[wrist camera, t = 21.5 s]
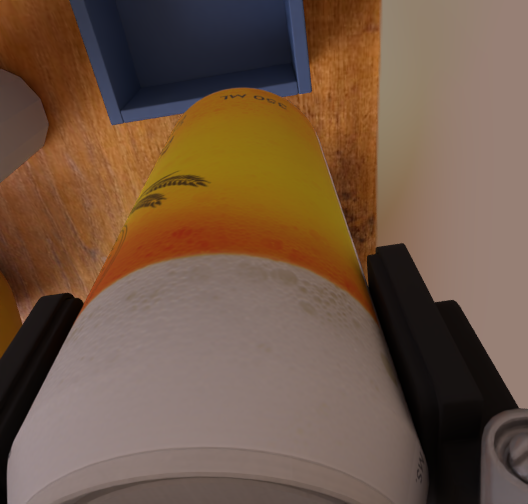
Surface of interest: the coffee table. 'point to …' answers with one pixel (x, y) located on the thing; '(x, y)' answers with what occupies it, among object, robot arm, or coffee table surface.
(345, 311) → the beer can
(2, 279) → the apple
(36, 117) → the water bottle
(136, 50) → the blue bin
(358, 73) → the coffee table surface
